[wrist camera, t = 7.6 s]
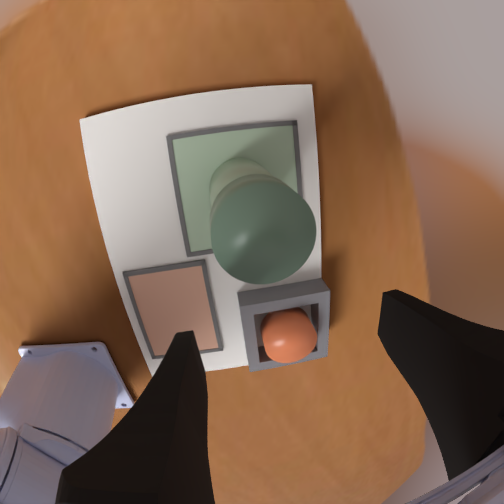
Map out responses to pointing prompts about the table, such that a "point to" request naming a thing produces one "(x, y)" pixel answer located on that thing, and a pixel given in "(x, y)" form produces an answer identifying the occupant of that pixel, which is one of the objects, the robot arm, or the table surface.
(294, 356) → the button
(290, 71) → the table surface
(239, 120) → the picture board
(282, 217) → the green rounded cylinder
